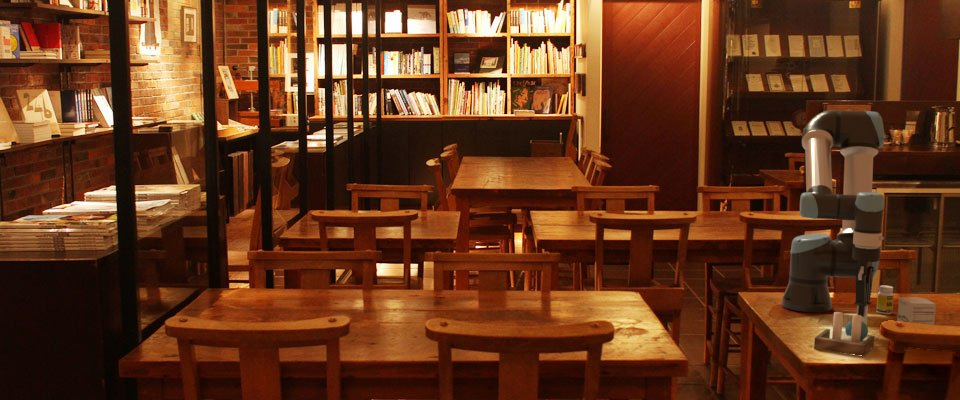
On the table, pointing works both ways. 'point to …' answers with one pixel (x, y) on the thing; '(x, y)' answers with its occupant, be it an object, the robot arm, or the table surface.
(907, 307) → the supplement box
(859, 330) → the pin
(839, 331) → the pin
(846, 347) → the tray
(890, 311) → the supplement bottle
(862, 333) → the ball
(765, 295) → the table surface
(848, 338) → the pin front
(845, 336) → the beige square tile
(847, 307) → the table surface
